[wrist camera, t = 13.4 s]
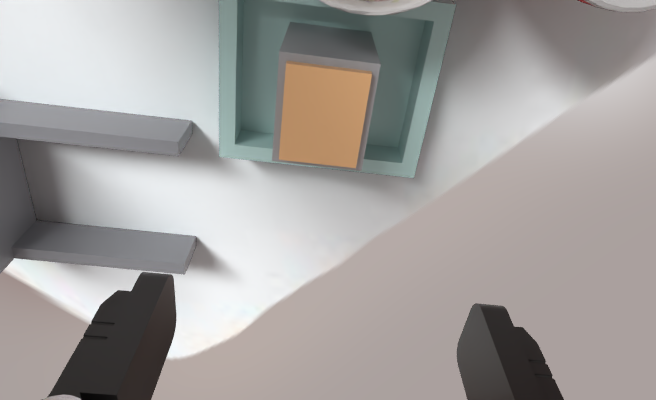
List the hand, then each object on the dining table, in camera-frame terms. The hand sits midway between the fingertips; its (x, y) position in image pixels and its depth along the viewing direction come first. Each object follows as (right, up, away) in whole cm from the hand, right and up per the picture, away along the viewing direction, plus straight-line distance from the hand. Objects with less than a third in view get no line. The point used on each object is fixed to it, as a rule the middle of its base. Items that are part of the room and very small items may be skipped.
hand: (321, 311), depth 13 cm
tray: (0, +11, +18) cm, 22 cm away
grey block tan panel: (0, +11, +18) cm, 21 cm away
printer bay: (-17, +5, +23) cm, 29 cm away
